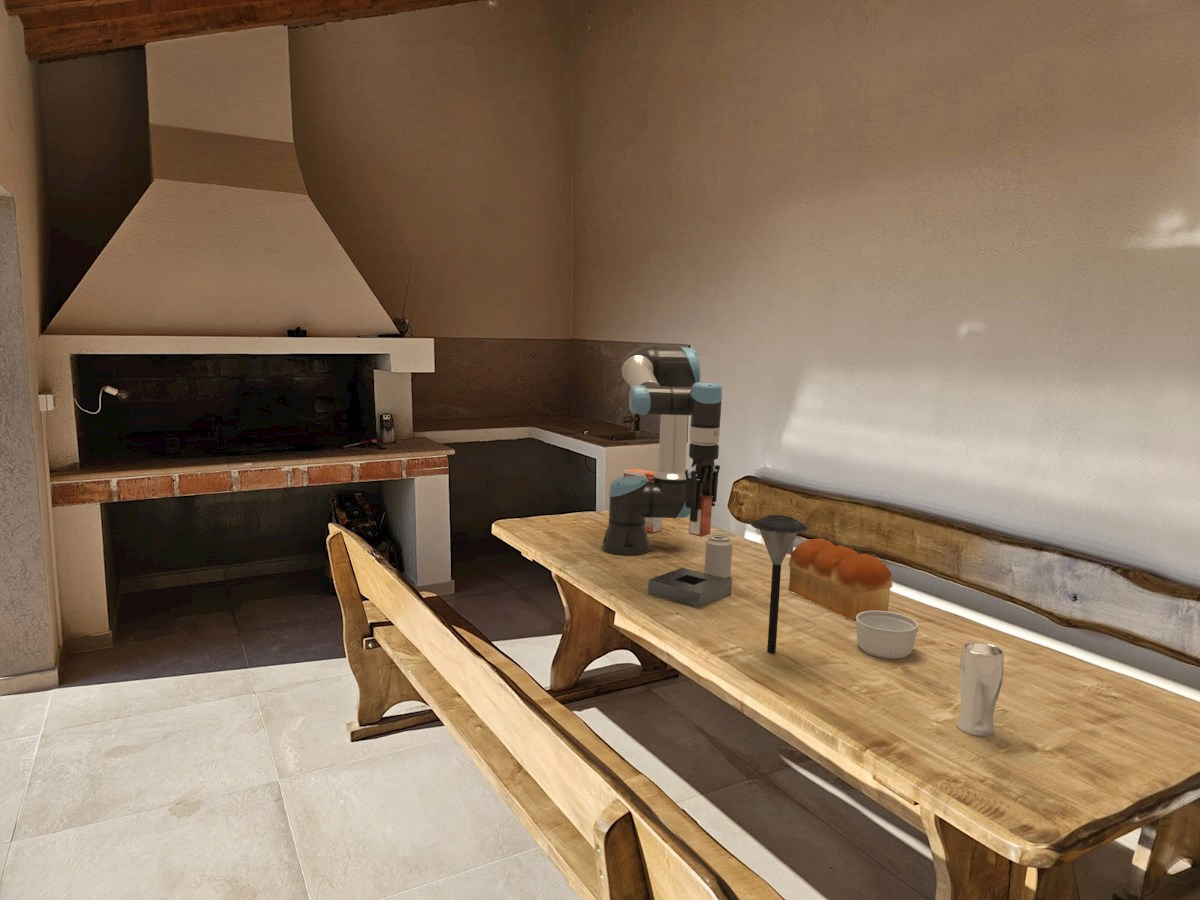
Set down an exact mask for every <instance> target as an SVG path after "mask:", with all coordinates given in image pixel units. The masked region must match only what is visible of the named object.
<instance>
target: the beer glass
mask: <svg viewBox="0 0 1200 900" xmlns="http://www.w3.org/2000/svg"><path fill="white" fill-rule="evenodd" d="M1004 654H1005V651H1004V650H1003V649H1001V647H999V646H997V645H994V644H990V643H986V642H979V641H970V642H969V641H968V642H965V643H964V644H963V645H962V652H961V657H960V662H959V674H958V675H959V677H958V678H959V679H958V680H959V689H960V690H959V691H960V704H961V705H960V711H959V715H958V717H957V722H956V726H957V728H958V730H960V731H962V732H964V733H966V734H968V735H971V736H976V737H981V738H982V737H983V738H987V737H991V736H993V735H994V734H995V723H994V712H995V707H996V706H997V701H998V697H999V695H1000V691H1001V689H1002V684H1003V678H1004V664H1005V663H1004V660H1005V659H1004V658H1005V657H1004V656H1005V655H1004Z"/></svg>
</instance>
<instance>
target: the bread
mask: <svg viewBox="0 0 1200 900" xmlns="http://www.w3.org/2000/svg"><path fill="white" fill-rule="evenodd" d="M788 566H789V568H790V569H789V584H788V592H789V591H791V592H794V593H796V594H797V595H796V594H795V595H796V596H798V595H800V596H802V597H804V598H803V599H805V598H806V599H805V600H807V599H808V600H807V601H809V600H811V601H813V602H815V603H814V604H816V603H817V604H816V605H818V604H820V605H822V606H824V607H823V608H825V607H826V608H825V609H827V608H828V609H827V610H829V609H830V610H829V611H831V610H832V611H831V612H834V613H836V614H838V615H840V614H841V615H840V616H842V617H845V618H847V619H849V618H850V620H851V619H852V621H855V620H854V619H856V616H857V614H859V613H861V612H865V611H888V612H889V605H890V592H891V589H892V587H893V578H892V572H891V570H890V569H889V568H888V566H887V565H886V564H885V563H884V562H883V561H882V560H880V559H879V558H878V557H875V556H873V555H870V554H868V553H861V554H860V553H859V552H858V551H855V550H854V549H851V548H849V547H846V546H843V545H841V544H839V545H835V544H834V543H832V542H831V541H830V540H826V539H823V538H822V537H821V538H812V539H806V540H804V541H802V542H801V543H799V544H797V546H796V547H794V549H793V550H792V551H791V554H790V558H789V563H788ZM791 592H790V593H791ZM800 596H799V597H800ZM802 597H801V598H802ZM811 601H810V602H811ZM813 602H812V603H813ZM820 605H819V606H820ZM822 606H821V607H822Z"/></svg>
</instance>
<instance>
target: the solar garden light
mask: <svg viewBox="0 0 1200 900" xmlns="http://www.w3.org/2000/svg"><path fill="white" fill-rule="evenodd" d="M750 526H751V527H752V528H755V529H757V530H759V532H760V534H761V537H762V539H763V540H762V541H763V543H764V545H765V547H766V550H767V553H768V555H769V558H770V560H771V563H772V568H771V586H770V597H769V598H770V600H769V601H770V602H769V617H768V618H769V619H768V630H767V631H768V632H767V633H768V635H767V647H766V648H767V650H766V651H767V653H768V654H776V652H777V651H776V650H777V637H778V636H777V635H778V621H779V607H780V606H779V605H780V588H781V575H782V574H781V572H782V563H783V561H784V560H785V557H786V556H787V554H788V552H789V550H790V548H791V546H792V544H793V543H794V541H795V539H796V537H797V535H798V534H800V533H805V532H807V531H809V527H808V526H807V525H805V524H804V523H802V522H801V521H799V520H798V519H796V518H794V517H792V516H788V515H782V514H769V515H766V516H763V517H761V518H759V519H756V520H755V521H753V522H750Z"/></svg>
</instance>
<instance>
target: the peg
mask: <svg viewBox="0 0 1200 900" xmlns="http://www.w3.org/2000/svg"><path fill="white" fill-rule="evenodd" d="M712 507H713V506H712V497H711V496H706V495H701V501H700V507H699V509H701V523H700V534H699V535H698V534H693V533H690V522H689V523H688V524H689V527H688V535H693V536H697V537H701V538H703V537H706V536H710V535H711V526H712V525H711V523H712V509H713V508H712ZM690 511H691V510H690Z"/></svg>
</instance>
